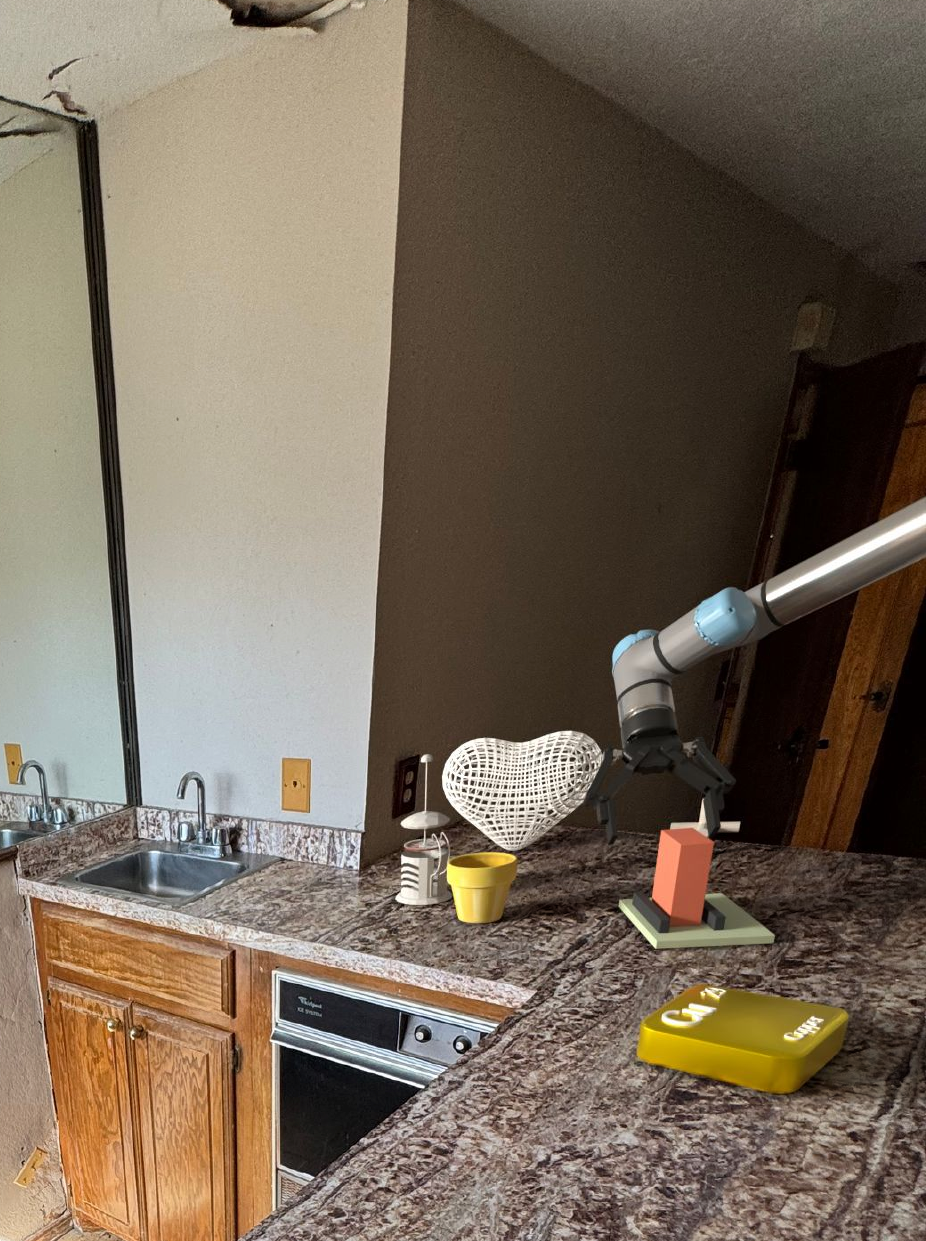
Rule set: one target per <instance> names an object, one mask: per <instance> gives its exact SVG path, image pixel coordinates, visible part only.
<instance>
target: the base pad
mask: <svg viewBox="0 0 926 1241" xmlns="http://www.w3.org/2000/svg"><path fill="white" fill-rule="evenodd" d="M618 900H619V901H618V908H619V909H620V910H621V912H623V913H624V914H625V916H626V917H627V918H628V919H629V920H630V921H631V923H632V924H633V925H634V926H635V927H636V928H637V929H638V931H639V932H641V934H642V935H643V936H644V938H646V940H647V941H648V942H649V943H650V944H651V945H652V946H653V948H655V949H656V950H660V949H683V948H685V949H686V948H705V947H723V946H726V947H727V946H745V945H746V946H747V945H767V944H774V943H775V938H776V935H775V934H774V933H773V932H772V931H770V930H769V929H768V928H767V927H766V926H764V925H763V924H762V923H760V922H759V921H758V920H757V919H755V918H754V917H753V916H752V915H750V914H749V913H748V912H746V911H745V910H744V909H743V908H741V906H739V905H737V904H736V903H735V902H734V901H733V900H731V899H730V898H729V897H728V896H727V895H725V894H724V893H721V892H718V893H706V895H705V901H704V907H703V913H702V919H701V925H695V926H676V927H669V926H670V919H669V918H668V917H667V916H666V915H665V914H664V913H663V912H662V911H661V910H660V909H659V908H658V907H657V906H656V905H655V904H654V903H653V902H652V897H648V896H647V895H646V893H644V891H634V892H633V895H632V898H625V899H624V898H622V899H618Z"/></svg>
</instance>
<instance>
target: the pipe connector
mask: <svg viewBox="0 0 926 1241" xmlns="http://www.w3.org/2000/svg"><path fill="white" fill-rule="evenodd" d="M704 798H705V797H703V798H702V800H701V808H700V813H699V820H698V822H671V823H670V827H669V830H670V829H682V828H694V829H695V830H697V831H698V832H700V833H701V834H703V835H704V836H706V837H707V838H709V839H710V837H709V836H708V830H707V823H706V817H705V810H704V804H703V800H704ZM720 824H721V827H720V829H719V830H718V832H717V833H739V832H740V826H741V821H720Z"/></svg>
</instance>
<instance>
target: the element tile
mask: <svg viewBox="0 0 926 1241" xmlns="http://www.w3.org/2000/svg"><path fill="white" fill-rule="evenodd" d="M849 1020H850V1015H849V1013H848V1012H847V1011H846V1010H845V1009H843V1008H841V1007H836V1006H831V1005H825V1004H820V1003H815V1002H808V1001H803V1000H798V999H797V1000H796V999H792V998H786V997H781V996H775V995H769V994H763V993H757V992H751V991H747V990H741V989H735V988H729V987H725V986H719V985H713V984H712V985H711V984H706V983H705V984H704V983H701V984H697V985H694V986H691V987H688V988H687V989H685V990H684V991H682V992H681V993H680V994H678V995H677V996H675V997H674V998H672V999H671V1000H670V1001H668V1002H666V1003H665V1004H664V1005H662V1006H661V1007H659V1008H658V1009H656V1010H655V1011H653V1012H652V1013H651V1014H649V1015H648V1016H646V1017H645V1018H643V1019H642V1020H641V1021H640V1027H639V1032H638V1041H637V1048H636V1057H638V1059H639V1060H641V1061H643V1062H645V1063H647V1064H651V1065H655V1066H658V1067H663V1068H667V1069H670V1070H674V1071H679V1072H682V1073H687V1074H691V1075H695V1076H699V1077H703V1078H707V1079H711V1080H715V1081H718V1082H723V1083H727V1084H731V1085H734V1086H735V1085H736V1086H739V1087H743V1088H747V1089H751V1090H756V1091H759V1092H764V1093H768V1094H777V1095H783V1094H785V1095H787V1094H791V1093H794V1092H796V1091H798V1090H799V1089H800V1088H802V1087H803V1086H804V1085H805V1084H806V1083H807V1082H808V1081H809V1080H810V1079H812V1077H814V1076H815V1075H816V1073H818V1072H819V1071H820V1070H821V1069H822V1068H823V1067H825V1065H827V1064H828V1063H829V1062H830V1061H831V1060H832V1059H833V1058H834V1057H835V1056H836V1055H837V1054H839V1052H840V1051H841V1050H842V1047H843V1044H844V1039H845V1036H846V1032H847V1028H848V1024H849Z"/></svg>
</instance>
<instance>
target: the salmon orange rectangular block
mask: <svg viewBox="0 0 926 1241" xmlns="http://www.w3.org/2000/svg"><path fill="white" fill-rule="evenodd" d="M714 846H715V842H714V841H713V840H712V839H711V838H710V837H709V838H707V837H706V836H704V835H703V834H701V833H700V832H698V831H697V830H695V829H694V828H682V829H670V828H669V829H662V830H660V836H659V843H658V851H657V857H656V858H657V859H656V865H655V873H654V882H653V888H652V895H651V898H652V902H653V903H654V904H655V905H656V906H657V907H658V908H659V909H660V910H661V911H662V912H663V913H664V914H665V915H666V916H667V917H668V918H669V919H670V926H669V927H676V926H695V925H701V919H702V913H703V907H704V901H705V895H706V894H707V889H708V888H707V887H708V882H709V876H710V870H711V865H712V858H713V851H714Z"/></svg>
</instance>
